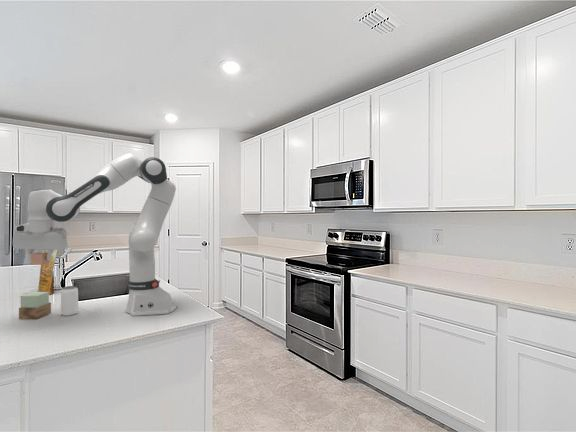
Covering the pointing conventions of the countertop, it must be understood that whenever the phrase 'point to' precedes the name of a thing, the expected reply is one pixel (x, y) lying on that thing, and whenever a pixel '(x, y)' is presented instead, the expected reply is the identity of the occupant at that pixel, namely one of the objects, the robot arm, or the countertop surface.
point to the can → (69, 300)
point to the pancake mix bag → (47, 274)
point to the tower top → (34, 299)
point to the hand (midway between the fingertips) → (40, 260)
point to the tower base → (35, 312)
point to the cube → (39, 259)
